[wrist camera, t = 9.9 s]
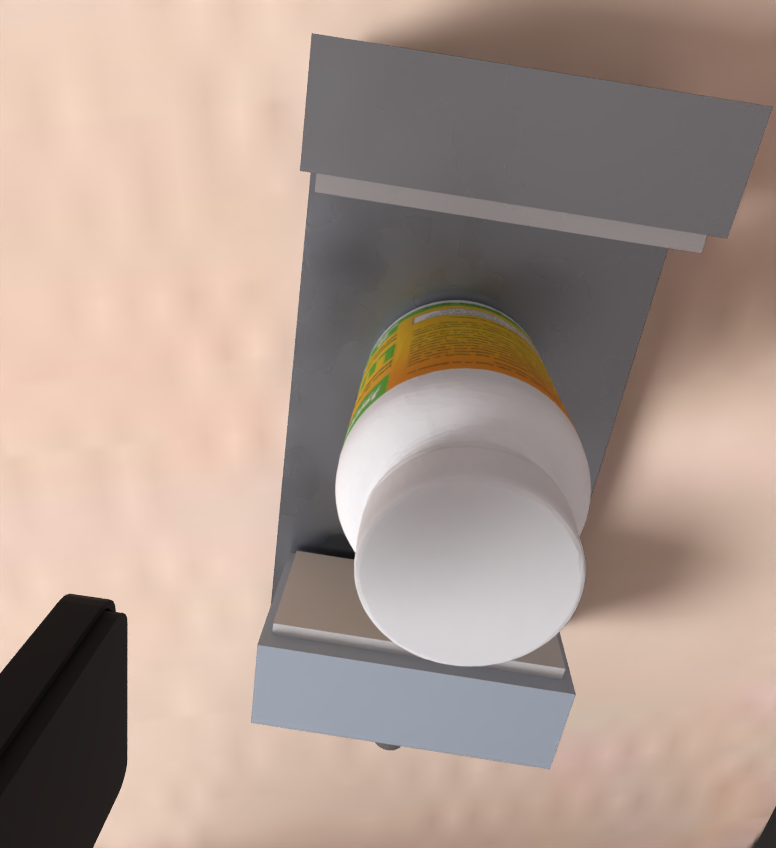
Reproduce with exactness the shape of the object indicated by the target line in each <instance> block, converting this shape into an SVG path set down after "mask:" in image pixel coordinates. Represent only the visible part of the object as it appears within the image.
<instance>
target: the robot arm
mask: <svg viewBox="0 0 776 848" xmlns="http://www.w3.org/2000/svg"><path fill="white" fill-rule="evenodd" d="M126 767H127V617H126V614H124V613H118V612H116V610H115V604H114V602H113V601H112V600H109V599H102V598H96V597H89V596H82V595H75V594H67V595H65V596H64V597H63V598H62V599H61V600H60V601H59V602H58V603H57V604H56V606H55V607H54V608H53V609H52V610H51V612H50V613H49V614H48V615H47V617H46V618H45V619H44V620H43V621H42V623H41V624H40V625H39V626H38V628H37V629H36V630H35V631H34V633H33V634H32V635H31V636H30V637H29V639H28V640H27V641H26V642H25V644H24V645H23V646H22V647H21V648H20V650H19V651H18V652H17V653H16V655H15V656H14V657H13V658H12V660H11V661H10V662H9V663H8V664H7V666H6V667H5V668H4V669H3V671H2V672H1V673H0V848H93V847H94V844H95V842H96V840H97V838H98V836H99V834H100V832H101V830H102V827H103V825H104V823H105V821H106V819H107V817H108V815H109V813H110V810H111V808H112V806H113V804H114V802H115V800H116V798H117V796H118V794H119V791H120V789H121V786H122V783H123V780H124V776H125V772H126ZM755 848H776V807H775V809H774V811H773V813H772V815H771V817H770V819H769V821H768V823H767V825H766V827H765V829H764V831H763V832H762V834H761V836H760V838H759V840H758V842H757V844H756V846H755Z"/></svg>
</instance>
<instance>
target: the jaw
mask: <svg viewBox="0 0 776 848" xmlns="http://www.w3.org/2000/svg"><path fill="white" fill-rule="evenodd" d="M575 695H576V694H575V690H574V686H573V682H572V679H571V675H570V671H569V667H568V663H567V659H566V655H565V652H564V648H563V644H562V640H561V636H560V632H558V633H557V634H556V635H555V636H554V637H553V638H552V639H551V640H549V641H548V642H547V643H545V644H544V645H542V646H540V647H539V648H537V649H536V650H534V651H532V652H530V653H528V654H526V655H524V656H522V657H519V658H516V659H513V660H509V661H506V662H502V663H498V664H492V665H485V666H455V665H448V664H442V663H438V662H434V661H431V660H427V659H424V658H421V657H419V656H417V655H415V654H413V653H411V652H409V651H407V650H405V649H403V648H402V647H400V646H398V645H397V644H395V643H394V642H392V641H391V640H390V639H389V638H388V637H387V636H385V635H384V634H383V633H382V632H381V631H380V630H379V629H378V628H377V627H376V625H375V624H374V623H373V622H372V620H371V619H370V618H369V616H368V615H367V613H366V611H365V610H364V608H363V606H362V603H361V601H360V599H359V596H358V592H357V589H356V584H355V579H354V560H353V559H346V558H340V557H334V556H327V555H321V554H314V553H308V552H302V551H296V553H290V552H289V554H288V557H287V560H286V563H285V566H284V569H283V572H282V575H281V578H280V581H279V584H278V586H277V589H276V592H275V595H274V598H273V601H272V604H271V607H270V610H269V613H268V616H267V619H266V622H265V625H264V627H263V630H262V633H261V636H260V639H259V642H258V646H257V657H256V669H255V681H254V693H253V705H252V717H251V723H256V724H263V725H269V726H275V727H282V728H288V729H295V730H301V731H308V732H314V733H320V734H327V735H333V736H340V737H346V738H353V739H359V740H365V741H372V742H375V743H376V744H377V745H378V746H379V747H381V748H383V749H385V750H395V749H398V748H400V747H401V746H404V747H410V748H417V749H423V750H430V751H436V752H442V753H449V754H455V755H462V756H468V757H475V758H481V759H487V760H494V761H500V762H507V763H513V764H519V765H526V766H532V767H539V768H545V769H550V767H551V764H552V761H553V758H554V756H555V753H556V750H557V747H558V744H559V741H560V738H561V735H562V732H563V730H564V727H565V724H566V721H567V718H568V715H569V712H570V709H571V707H572V704H573V701H574V698H575Z"/></svg>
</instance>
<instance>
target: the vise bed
mask: <svg viewBox="0 0 776 848" xmlns="http://www.w3.org/2000/svg"><path fill="white" fill-rule="evenodd" d="M771 110H772V107H771V106H764V105H758V104H752V103H746V102H739V101H733V100H727V99H720V98H714V97H708V96H702V95H695V94H689V93H683V92H677V91H670V90H664V89H658V88H652V87H645V86H639V85H633V84H626V83H620V82H614V81H608V80H601V79H595V78H589V77H583V76H576V75H570V74H564V73H557V72H551V71H545V70H539V69H532V68H526V67H520V66H514V65H507V64H501V63H495V62H488V61H482V60H476V59H470V58H463V57H457V56H451V55H445V54H438V53H432V52H426V51H419V50H413V49H407V48H401V47H394V46H388V45H382V44H376V43H369V42H363V41H357V40H350V39H344V38H338V37H332V36H325V35H319V34H313V33H312V37H311V49H310V61H309V72H308V84H307V96H306V108H305V119H304V131H303V143H302V154H301V166H300V171H305V172H311V175H310V186H309V197H308V208H307V219H306V230H305V241H304V252H303V263H302V273H301V284H300V295H299V306H298V317H297V328H296V339H295V350H294V360H293V371H292V382H291V393H290V404H289V415H288V426H287V437H286V448H285V458H284V469H283V480H282V491H281V502H280V513H279V524H278V535H277V545H276V556H275V567H274V578H273V589H272V600H271V604H272V601H273V598H274V595H275V592H276V589H277V586H278V584H279V581H280V578H281V575H282V572H283V569H284V566H285V563H286V560H287V557H288V554H289V552H290V553H296V551H302V552H308V553H314V554H321V555H327V556H334V557H340V558H346V559H353V560H354V559H355V551H354V550H353V548H352V546H351V545H350V543H349V541H348V539H347V537H346V535H345V533H344V531H343V528H342V526H341V523H340V520H339V516H338V511H337V505H336V495H335V484H336V474H337V469H338V463H339V458H340V454H341V451H342V448H343V444H344V440H345V437H346V434H347V430H348V427H349V424H350V420H351V417H352V414H353V410H354V407H355V403H356V400H357V396H358V393H359V389H360V386H361V382H362V379H363V375H364V370H365V368H366V365H367V362H368V359H369V357H370V354H371V352H372V350H373V348H374V346H375V345H376V343H377V341H378V340H379V338H380V337H381V336H382V334H383V333H384V332H385V331H386V330H387V329H388V328H389V327H390V326H391V325H392V324H393V323H394V322H395V321H396V320H398V319H399V318H400V317H402V316H403V315H405V314H406V313H408V312H410V311H412V310H414V309H416V308H418V307H421V306H424V305H427V304H430V303H433V302H439V301H446V300H465V301H472V302H477V303H480V304H484V305H487V306H489V307H492V308H494V309H496V310H498V311H500V312H502V313H504V314H505V315H507V316H508V317H510V318H511V319H513V320H514V321H515V322H516V323H517V324H518V325H519V326H520V327H521V328H522V329H523V330H524V331H525V332H526V334H527V335H528V336H529V338H530V339H531V341H532V342H533V344H534V346H535V347H536V349H537V351H538V353H539V355H540V357H541V359H542V361H543V364H544V366H545V368H546V370H547V372H548V374H549V377H550V379H551V381H552V383H553V385H554V387H555V389H556V391H557V393H558V395H559V397H560V399H561V401H562V403H563V405H564V407H565V409H566V411H567V413H568V415H569V417H570V419H571V421H572V423H573V425H574V427H575V430H576V432H577V434H578V436H579V439H580V441H581V444H582V447H583V450H584V453H585V456H586V459H587V462H588V466H589V472H590V481H591V495H592V492H593V489H594V485H595V482H596V479H597V476H598V473H599V469H600V466H601V463H602V460H603V456H604V453H605V450H606V447H607V444H608V440H609V437H610V434H611V431H612V427H613V424H614V421H615V418H616V415H617V411H618V408H619V405H620V402H621V398H622V395H623V392H624V389H625V385H626V382H627V379H628V376H629V373H630V369H631V366H632V363H633V360H634V356H635V353H636V350H637V347H638V344H639V340H640V337H641V334H642V331H643V327H644V324H645V321H646V318H647V314H648V311H649V308H650V305H651V302H652V298H653V295H654V292H655V289H656V285H657V282H658V279H659V276H660V273H661V269H662V266H663V263H664V260H665V256H666V253H667V250H668V248H671V249H677V250H684V251H690V252H696V253H702V250H703V247H704V244H705V241H706V238H707V235H708V236H715V237H721V238H728V235H729V232H730V229H731V226H732V224H733V221H734V218H735V215H736V212H737V209H738V206H739V203H740V200H741V197H742V194H743V192H744V189H745V186H746V183H747V180H748V177H749V174H750V171H751V168H752V165H753V162H754V160H755V157H756V154H757V151H758V148H759V145H760V142H761V139H762V136H763V133H764V130H765V127H766V125H767V122H768V119H769V116H770V113H771ZM590 498H591V496H590Z"/></svg>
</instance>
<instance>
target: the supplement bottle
mask: <svg viewBox="0 0 776 848" xmlns="http://www.w3.org/2000/svg"><path fill="white" fill-rule="evenodd" d="M335 495H336V505H337V511H338V516H339V520H340V523H341V526H342V528H343V531H344V533H345V535H346V537H347V539H348V541H349V543H350V545H351V546H352V548H353V550H354V551H355V559H354V579H355V584H356V589H357V592H358V596H359V599H360V601H361V603H362V606H363V608H364V610H365V611H366V613H367V615H368V616H369V618H370V619H371V620H372V622H373V623H374V624H375V625H376V627H377V628H378V629H379V630H380V631H381V632H382V633H383V634H384V635H385V636H387V637H388V638H389V639H390V640H391V641H392V642H394V643H395V644H397V645H398V646H400V647H402V648H403V649H405V650H407V651H409V652H411V653H413V654H415V655H417V656H419V657H421V658H424V659H427V660H431V661H434V662H438V663H442V664H448V665H455V666H485V665H492V664H498V663H502V662H506V661H509V660H513V659H516V658H519V657H522V656H524V655H526V654H528V653H530V652H532V651H534V650H536V649H537V648H539V647H540V646H542V645H544V644H545V643H547V642H548V641H549V640H551V639H552V638H553V637H554V636H555V635H556V634H557V633H558V632H560V630H561V629H562V628H563V627H564V626H565V625H566V624H567V622H568V621H569V620H570V618H571V617H572V615H573V613H574V612H575V610H576V608H577V606H578V604H579V601H580V599H581V596H582V593H583V589H584V585H585V575H586V561H585V554H584V550H583V546H582V543H581V540H580V535H581V532H582V530H583V528H584V525H585V522H586V519H587V515H588V511H589V505H590V496H591V481H590V472H589V466H588V462H587V459H586V456H585V453H584V450H583V447H582V444H581V441H580V439H579V436H578V434H577V432H576V430H575V427H574V425H573V423H572V421H571V419H570V417H569V415H568V413H567V411H566V409H565V407H564V405H563V403H562V401H561V399H560V397H559V395H558V393H557V391H556V389H555V387H554V385H553V383H552V381H551V379H550V377H549V374H548V372H547V370H546V368H545V366H544V364H543V361H542V359H541V357H540V355H539V353H538V351H537V349H536V347H535V346H534V344H533V342H532V341H531V339H530V338H529V336H528V335H527V334H526V332H525V331H524V330H523V329H522V328H521V327H520V326H519V325H518V324H517V323H516V322H515V321H514V320H513V319H511V318H510V317H508V316H507V315H505V314H504V313H502V312H500V311H498V310H496V309H494V308H492V307H489V306H487V305H484V304H480V303H477V302H472V301H465V300H446V301H439V302H433V303H430V304H427V305H424V306H421V307H418V308H416V309H414V310H412V311H410V312H408V313H406V314H405V315H403V316H402V317H400V318H399V319H398V320H396V321H395V322H394V323H393V324H392V325H391V326H390V327H389V328H388V329H387V330H386V331H385V332H384V333H383V334H382V336H381V337H380V338H379V340H378V341H377V343H376V345H375V346H374V348H373V350H372V352H371V354H370V357H369V359H368V362H367V365H366V368H365V370H364V375H363V379H362V382H361V386H360V389H359V393H358V396H357V400H356V403H355V407H354V410H353V414H352V417H351V420H350V424H349V427H348V430H347V434H346V437H345V440H344V444H343V448H342V451H341V454H340V458H339V463H338V469H337V474H336V484H335Z"/></svg>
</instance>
